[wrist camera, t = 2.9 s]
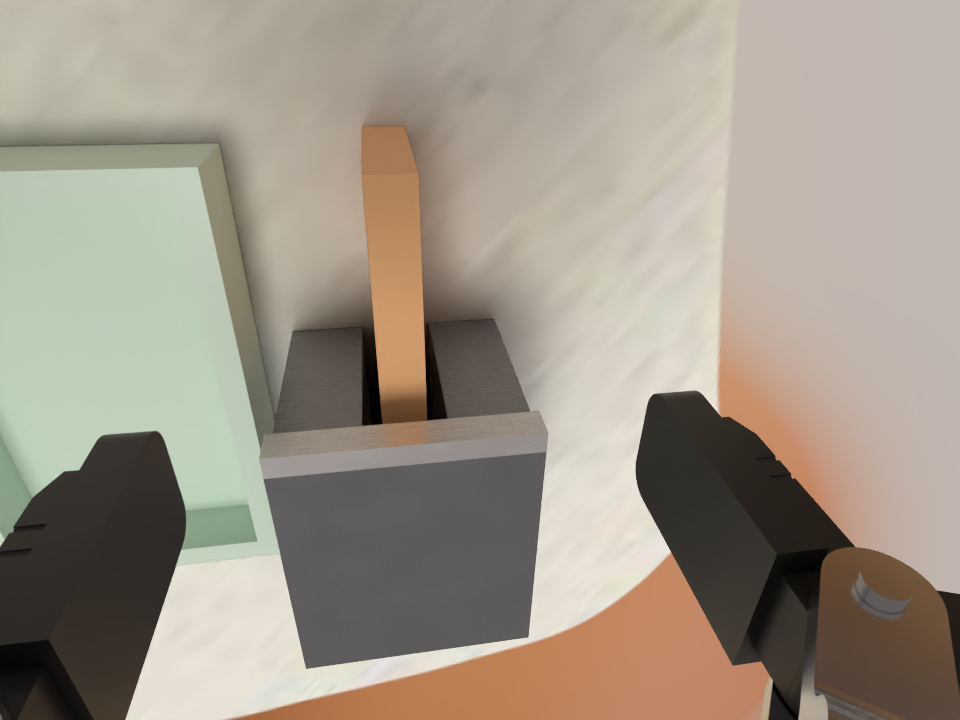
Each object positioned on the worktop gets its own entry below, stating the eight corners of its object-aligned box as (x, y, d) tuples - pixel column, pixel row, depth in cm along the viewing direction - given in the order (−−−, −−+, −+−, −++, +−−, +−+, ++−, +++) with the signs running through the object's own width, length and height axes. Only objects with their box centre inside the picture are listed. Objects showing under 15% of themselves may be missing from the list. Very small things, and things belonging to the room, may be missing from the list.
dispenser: (290, 315, 26) (258, 459, 18) (494, 303, 28) (547, 432, 20) (320, 498, 32) (306, 668, 24) (488, 480, 33) (528, 637, 25)
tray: (-154, 149, 21) (-240, 177, 18) (219, 142, 22) (197, 167, 19) (39, 526, 30) (4, 585, 27) (290, 501, 32) (283, 553, 29)
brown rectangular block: (361, 126, 23) (361, 175, 17) (404, 125, 23) (418, 173, 17) (380, 353, 28) (384, 450, 22) (414, 351, 28) (428, 446, 23)
